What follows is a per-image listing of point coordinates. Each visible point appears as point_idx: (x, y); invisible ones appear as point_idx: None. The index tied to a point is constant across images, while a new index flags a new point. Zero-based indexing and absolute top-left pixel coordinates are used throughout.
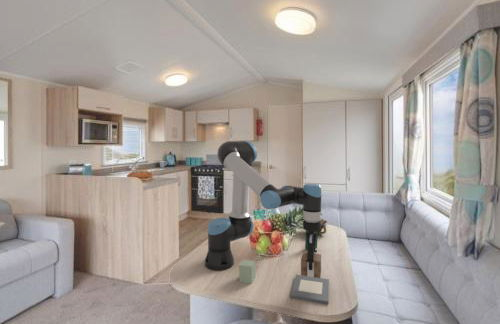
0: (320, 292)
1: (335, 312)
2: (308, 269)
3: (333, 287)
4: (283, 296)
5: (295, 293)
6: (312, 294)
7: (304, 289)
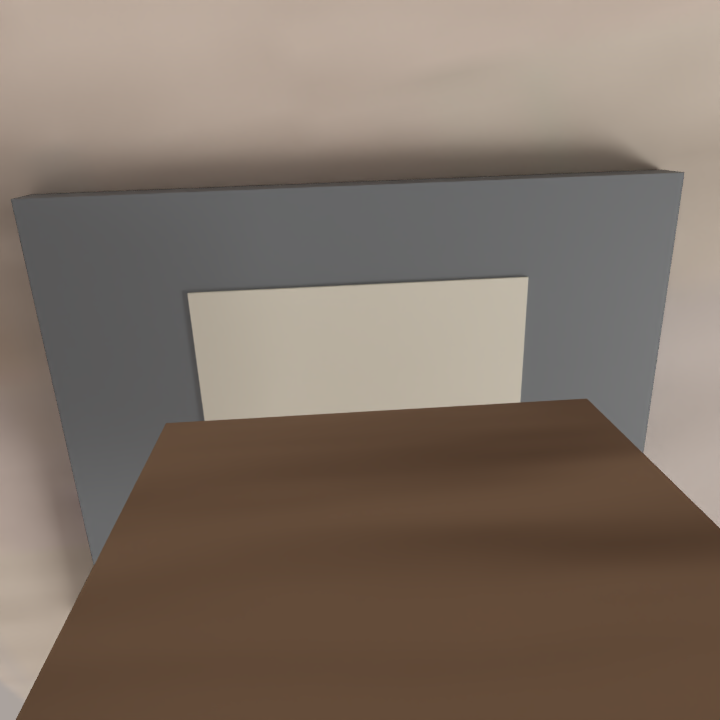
0: None
1: (13, 681)
2: None
3: None
4: (14, 77)
5: (91, 264)
6: None
7: (252, 370)
